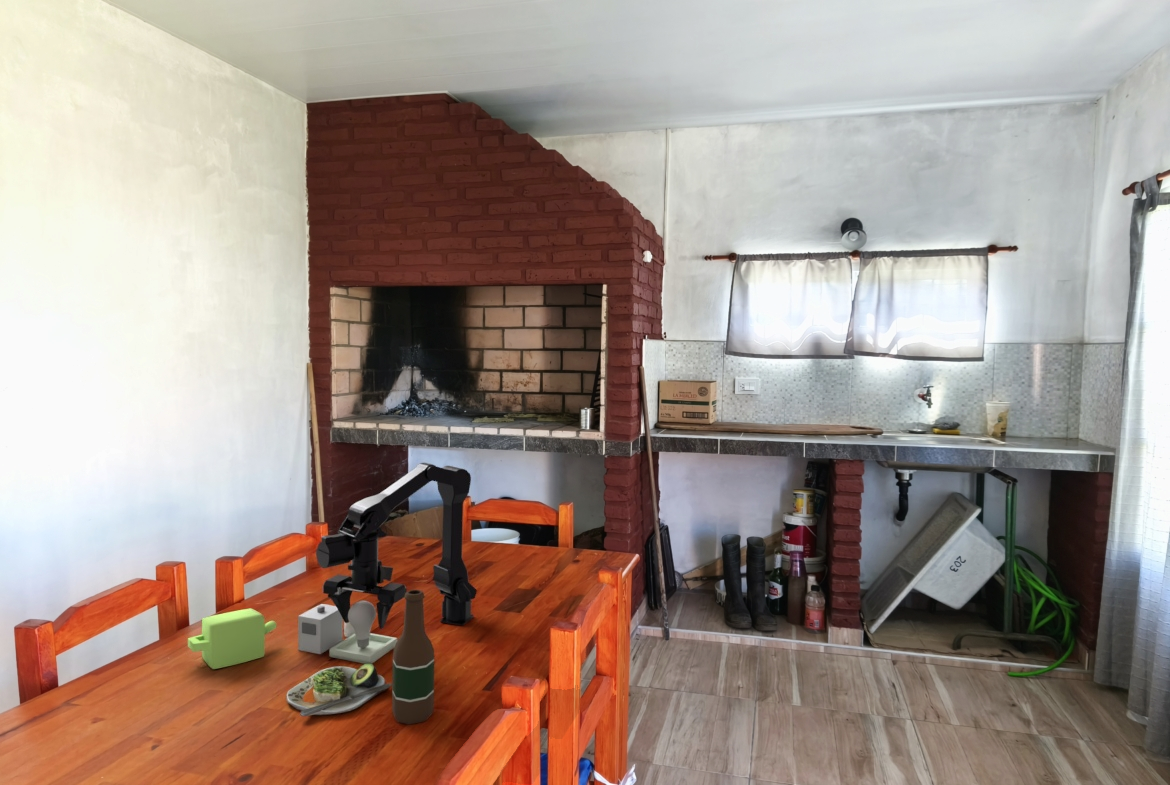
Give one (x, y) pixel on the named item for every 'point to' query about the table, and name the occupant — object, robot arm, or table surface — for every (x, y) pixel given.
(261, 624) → the gearbox
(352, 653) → the tray
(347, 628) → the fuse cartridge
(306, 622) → the box
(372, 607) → the lightbulb
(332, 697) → the salad plate
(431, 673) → the beer bottle
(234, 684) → the table surface
